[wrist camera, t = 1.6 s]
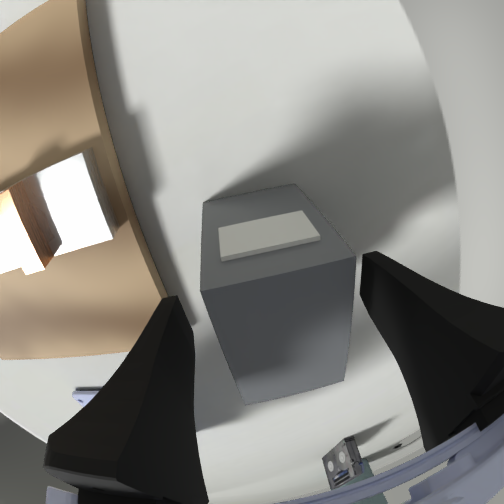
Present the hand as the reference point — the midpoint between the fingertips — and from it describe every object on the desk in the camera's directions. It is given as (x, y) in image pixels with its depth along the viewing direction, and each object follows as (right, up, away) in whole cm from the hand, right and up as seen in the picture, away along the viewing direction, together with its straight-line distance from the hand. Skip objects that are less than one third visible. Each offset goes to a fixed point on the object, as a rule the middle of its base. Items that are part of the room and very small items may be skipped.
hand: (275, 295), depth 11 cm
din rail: (-14, +2, -1) cm, 14 cm away
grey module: (0, +2, +3) cm, 3 cm away
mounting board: (-14, +3, 0) cm, 14 cm away
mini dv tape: (+11, -26, +22) cm, 36 cm away
